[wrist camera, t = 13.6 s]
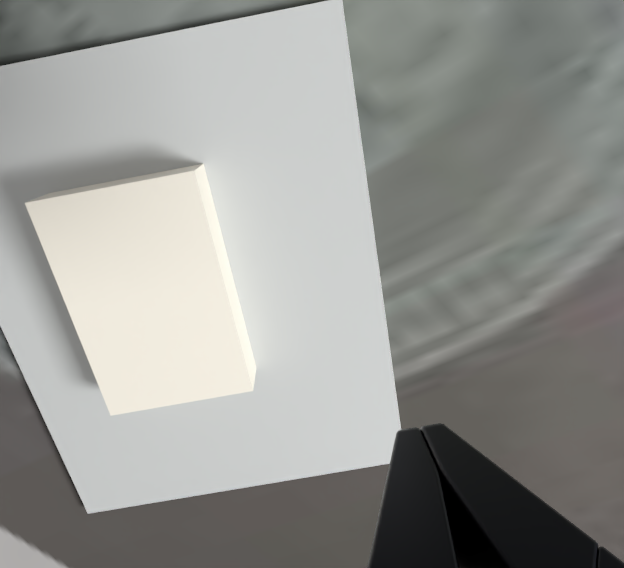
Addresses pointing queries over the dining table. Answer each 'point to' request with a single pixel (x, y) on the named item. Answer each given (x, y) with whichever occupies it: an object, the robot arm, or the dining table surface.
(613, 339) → the dining table surface
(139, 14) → the dining table surface
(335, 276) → the mat
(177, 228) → the block
